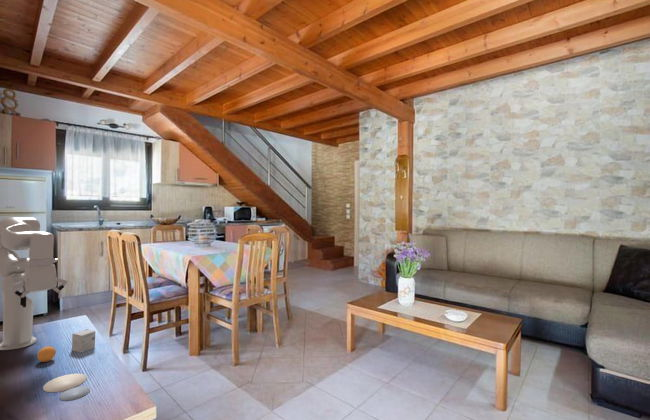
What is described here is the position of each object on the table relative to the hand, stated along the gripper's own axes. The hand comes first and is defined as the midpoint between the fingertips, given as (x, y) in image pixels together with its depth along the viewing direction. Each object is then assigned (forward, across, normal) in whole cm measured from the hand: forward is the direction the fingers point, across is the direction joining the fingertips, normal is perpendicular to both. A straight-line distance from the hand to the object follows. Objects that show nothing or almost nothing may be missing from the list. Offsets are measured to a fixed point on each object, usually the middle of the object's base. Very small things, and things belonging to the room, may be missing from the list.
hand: (39, 304), depth 132 cm
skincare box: (+22, -14, +5) cm, 26 cm away
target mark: (+22, -2, +33) cm, 39 cm away
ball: (+19, -1, +8) cm, 20 cm away
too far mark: (+22, -2, +43) cm, 48 cm away
